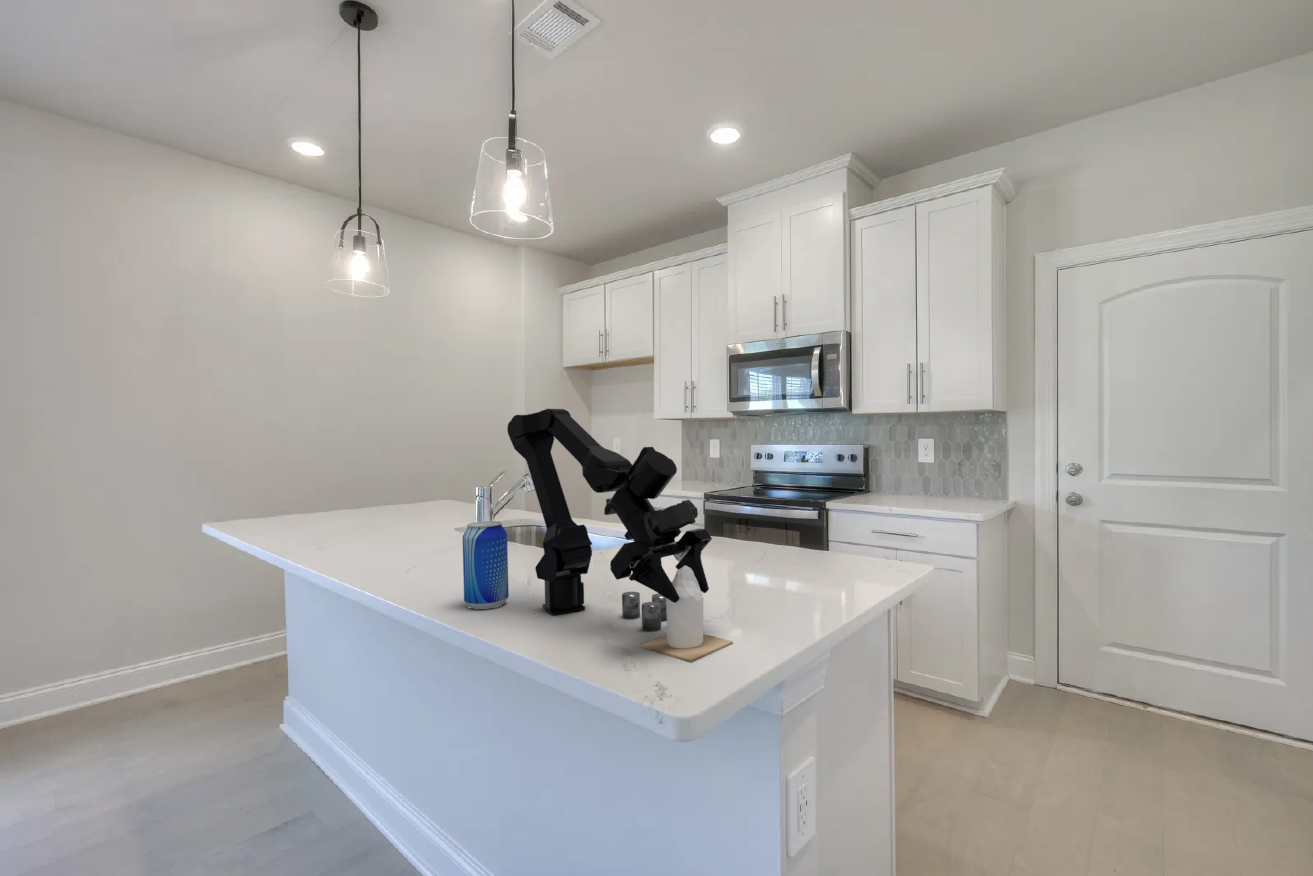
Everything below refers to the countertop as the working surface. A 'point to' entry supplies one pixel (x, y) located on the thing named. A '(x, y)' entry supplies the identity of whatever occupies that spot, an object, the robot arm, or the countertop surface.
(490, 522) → the beer can
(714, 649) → the mat
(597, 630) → the countertop surface
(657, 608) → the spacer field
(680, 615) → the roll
